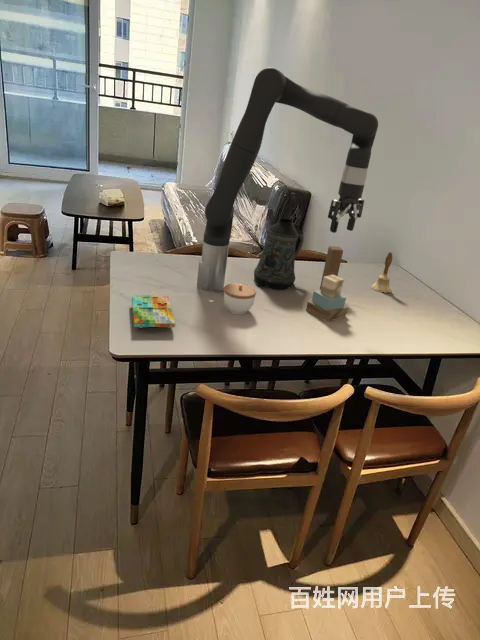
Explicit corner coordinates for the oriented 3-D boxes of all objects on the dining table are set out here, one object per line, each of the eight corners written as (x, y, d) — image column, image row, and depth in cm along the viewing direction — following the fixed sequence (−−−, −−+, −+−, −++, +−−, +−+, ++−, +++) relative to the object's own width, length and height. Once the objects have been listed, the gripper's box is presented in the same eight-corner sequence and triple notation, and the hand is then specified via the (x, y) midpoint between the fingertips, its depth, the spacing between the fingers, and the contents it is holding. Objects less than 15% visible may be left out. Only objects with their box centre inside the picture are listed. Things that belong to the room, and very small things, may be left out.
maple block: (331, 298, 161) (335, 281, 159) (320, 292, 165) (323, 276, 162) (340, 295, 165) (344, 279, 162) (329, 290, 168) (332, 274, 165)
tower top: (326, 310, 161) (328, 300, 160) (311, 301, 167) (313, 290, 166) (343, 308, 165) (346, 297, 164) (329, 298, 171) (331, 288, 170)
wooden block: (337, 299, 181) (348, 254, 173) (326, 298, 180) (336, 253, 173) (329, 289, 189) (339, 246, 181) (319, 289, 188) (328, 245, 180)
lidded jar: (237, 301, 168) (240, 276, 164) (259, 313, 161) (263, 287, 157) (214, 307, 160) (217, 282, 156) (236, 320, 154) (240, 293, 150)
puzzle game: (168, 293, 156) (175, 321, 138) (167, 306, 158) (174, 335, 140) (131, 292, 153) (134, 320, 135) (131, 305, 155) (133, 335, 137)
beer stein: (247, 283, 184) (256, 220, 173) (262, 269, 201) (271, 210, 190) (287, 293, 180) (299, 229, 169) (300, 278, 197) (311, 219, 186)
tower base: (327, 323, 162) (329, 312, 160) (305, 311, 168) (307, 301, 167) (345, 317, 168) (347, 307, 167) (323, 306, 175) (325, 296, 173)
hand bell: (384, 294, 192) (394, 257, 185) (367, 287, 198) (376, 250, 191) (395, 291, 198) (405, 254, 191) (378, 283, 203) (388, 248, 196)
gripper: (357, 178, 157) (346, 226, 164) (329, 178, 148) (318, 229, 155) (376, 183, 152) (363, 232, 159) (348, 184, 143) (336, 236, 150)
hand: (341, 231), depth 157 cm, fingers open, 8 cm apart
